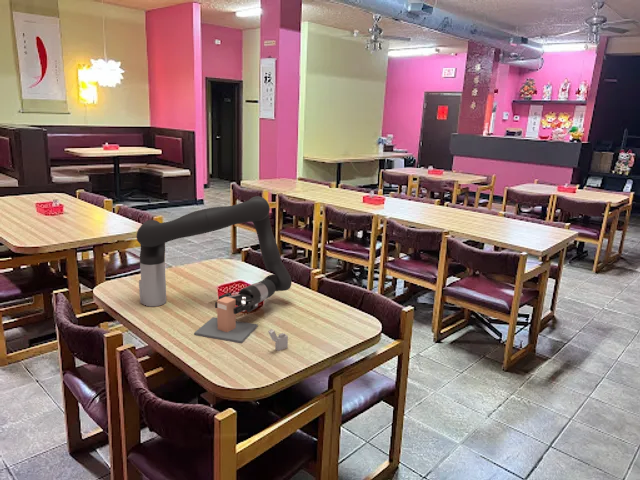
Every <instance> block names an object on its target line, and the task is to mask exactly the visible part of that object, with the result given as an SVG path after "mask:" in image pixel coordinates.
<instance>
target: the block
mask: <svg viewBox="0 0 640 480" xmlns="http://www.w3.org/2000/svg"><path fill="white" fill-rule="evenodd" d="M216 302H217V308H216V310H217V311H216V314H217V315H216V316H217V317H216V318H217V323H218V329H219V330H222V331H225V332H229V331H231V330H233V329H235V328H236V321H237V319H236V315H237V314H234V308H235V307H237V305H236V299H233V298H229V297H223V298H221V299H219V298H218V300H216Z"/></svg>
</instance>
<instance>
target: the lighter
mask: <svg viewBox="0 0 640 480" xmlns="http://www.w3.org/2000/svg"><path fill="white" fill-rule="evenodd" d="M267 332H268V334H269V336H270V338H271V340H272V341H273V342H274V343H275V345H274V346H275V347H274V350H276V351H277V352H280V351H282V350H284V349H288V347H289V344H288V343H289V342H288V341H289V335H287V334H286V333H284V332H282V333H278V336H277V334H276V332H275V330H274V329H273V328H270V329H269V330H268V331H267Z"/></svg>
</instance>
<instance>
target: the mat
mask: <svg viewBox="0 0 640 480" xmlns="http://www.w3.org/2000/svg"><path fill="white" fill-rule="evenodd" d="M258 327H259V325H258V324H257V323H253V322H252V323H251V322H247V321H239V320H236V328H235V329H233V330H231V331H229V332H225V331H222V330H219V329H218V323H217V317H215V316H213V317H211V318H210V319H209V320H207V321H206V323H204V324H203V325H202V326H201V327H199V328H198V329H197V330H196V331H194V336H198V337H203V338H204V337H205V338H210V339H215V340H221V341H228V342H232V343H238V344H243V343H245V340H247V339H248V338H249V336H250V335H251V334H252V333H253V332H254V331H255V330H256V329H257V328H258Z"/></svg>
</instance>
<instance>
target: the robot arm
mask: <svg viewBox="0 0 640 480" xmlns="http://www.w3.org/2000/svg"><path fill="white" fill-rule="evenodd" d="M270 209H271V208H270V204H269V203H268V201H267V199H266V198H264V197H262V196H259V195H255V196H252V197H251V198H249V199H248V200H246V201H243V202H240V203H236V204H233V205H228V206H226V205H225V206H215V207H209V208H203V209H199V210H195V211H192V212H189V213H187V214H184V215H182V216H180V217H178V218H176V219H173V220H169V221H164V222H160V221H158V220H155V219H149V220H146V221H144V222H143V223H142V224H141V225H140V227H139V228H138V229H137V231H136V237H135V238H136V241H137V242H138V243H139V244H140V249H139V250H140V252H139V265H140V266H139V268H140V279H139V280H138V288H139V289H138V290H139V303H140V304H142V305H144V306H145V305H146V307H159V306H161V305H162V306H163V305H164V304H166V303H167V283H166V282H167V281H166V263H165V262H166V261H165V260H166V259H165V255H166V243H168V242H171V241H174V240H178V239H182V238H183V239H184V238H189V237H194V236H198V235H205V234H206V233H207V234H209V233H211V232H217V231H219V230H223V229H226V228H228V227H232V226H233V225H237V224H243V223H249V222H250V223H251V222H252V224H253V226H254V229H255V231H256V235H257V240H258V244H259V249H260V254H261V257H262V260H263V263H264V266H265V269H266V270H267V271H270V272H273V273H274V274H270V275H268V276H266V277H264V279H263V280H261V281H259V282H255V283H253V284H250V285H248V286H245V287H243V288H241V289H240V290H239V292H238V294H234V295H233V294H232V292H227V293H224V294H221V295H219V296H218V300H219V299H221V298H223V297H229V298H233V299H236V307H235V308H234V314H236V315H237V314H240V313H241V312H242V313H243V312H247V313H250V312H252V311H254V310H255V309H257V308H258V307H259V304H260V303H261V302H263V301H264V300H265V299H268V298H270V297H271V296H273V295H274V294H275V292H284V291H285V292H286V291H289V290H290V289H291V287H292V283H293V282H292V277H291V274H290V273H289V271H288V269H287V268H286V266H285V265H284V263H283V262H282V257H281V254H280V250H279V247H278V244H277V241H276V239H275V235H274V233H273V229H272V225H271V220H270ZM214 308H215V309H217V301H215V303H214Z"/></svg>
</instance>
